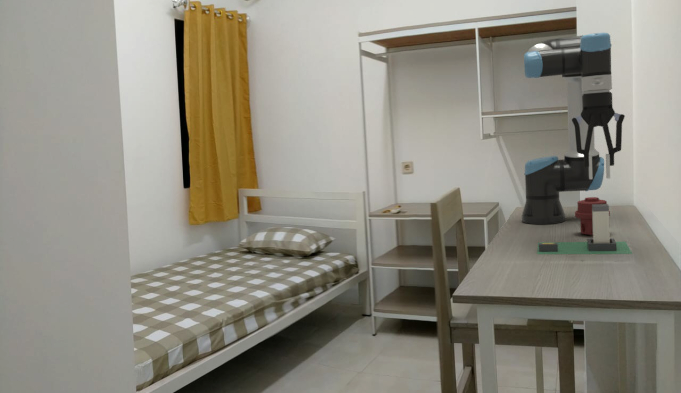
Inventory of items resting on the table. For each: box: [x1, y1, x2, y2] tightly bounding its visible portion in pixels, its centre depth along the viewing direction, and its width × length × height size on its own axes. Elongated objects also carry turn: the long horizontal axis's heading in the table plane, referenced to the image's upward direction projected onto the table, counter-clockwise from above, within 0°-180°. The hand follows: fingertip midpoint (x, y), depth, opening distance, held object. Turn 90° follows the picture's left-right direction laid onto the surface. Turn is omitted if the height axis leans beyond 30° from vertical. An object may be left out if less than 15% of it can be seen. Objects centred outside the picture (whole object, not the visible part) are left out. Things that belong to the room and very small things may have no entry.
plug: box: [592, 203, 611, 243], centre depth 171 cm, size 4×4×12 cm
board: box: [536, 238, 633, 255], centre depth 174 cm, size 16×24×3 cm, turn 71°
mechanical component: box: [574, 196, 611, 237], centre depth 191 cm, size 12×10×10 cm
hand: (599, 178), depth 169 cm, fingers open, 4 cm apart
